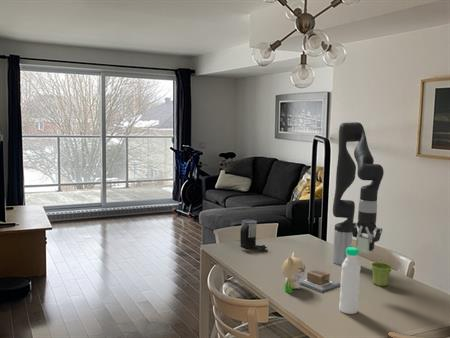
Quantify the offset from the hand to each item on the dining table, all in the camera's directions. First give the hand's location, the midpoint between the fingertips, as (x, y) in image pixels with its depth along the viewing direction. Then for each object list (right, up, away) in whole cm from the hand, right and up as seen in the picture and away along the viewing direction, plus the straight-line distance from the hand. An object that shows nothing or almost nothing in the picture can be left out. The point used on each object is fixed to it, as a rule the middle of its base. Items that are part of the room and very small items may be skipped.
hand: (364, 248), depth 194 cm
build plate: (-19, -18, +9) cm, 27 cm away
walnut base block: (-18, -16, +9) cm, 26 cm away
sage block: (0, -1, 0) cm, 1 cm away
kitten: (-31, -18, +3) cm, 36 cm away
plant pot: (+11, -19, +12) cm, 25 cm away
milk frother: (-44, -11, +64) cm, 78 cm away
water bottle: (-13, -21, -19) cm, 31 cm away
